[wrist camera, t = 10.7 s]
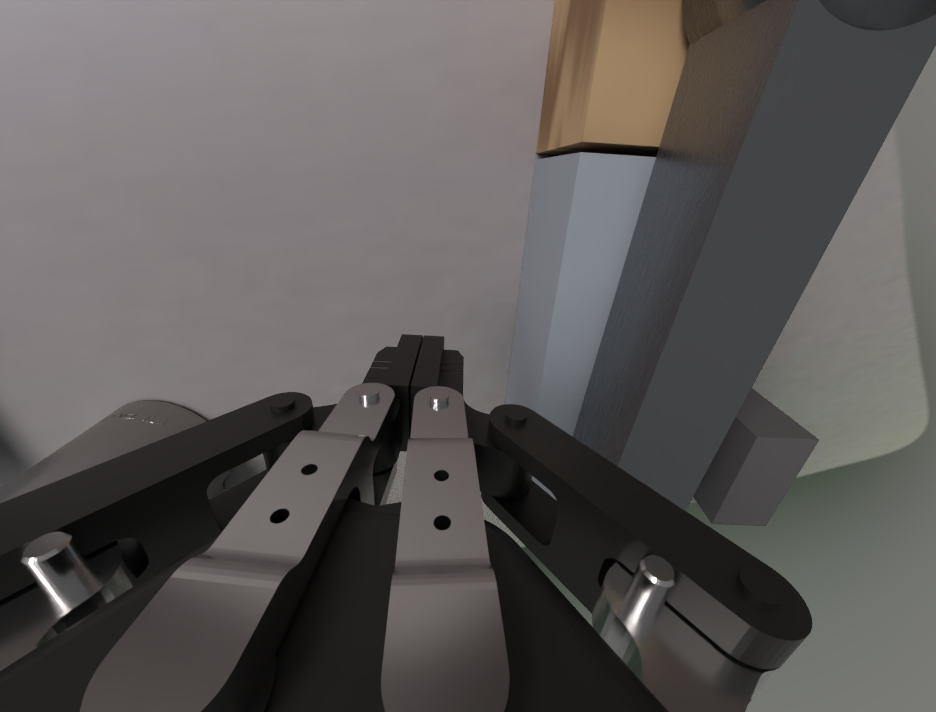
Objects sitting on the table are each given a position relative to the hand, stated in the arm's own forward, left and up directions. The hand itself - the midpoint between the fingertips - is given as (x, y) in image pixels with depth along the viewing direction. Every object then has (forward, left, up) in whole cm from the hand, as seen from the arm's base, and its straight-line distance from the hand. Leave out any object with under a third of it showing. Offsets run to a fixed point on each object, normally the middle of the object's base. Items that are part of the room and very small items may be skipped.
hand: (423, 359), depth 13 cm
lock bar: (+4, -9, -1) cm, 10 cm away
